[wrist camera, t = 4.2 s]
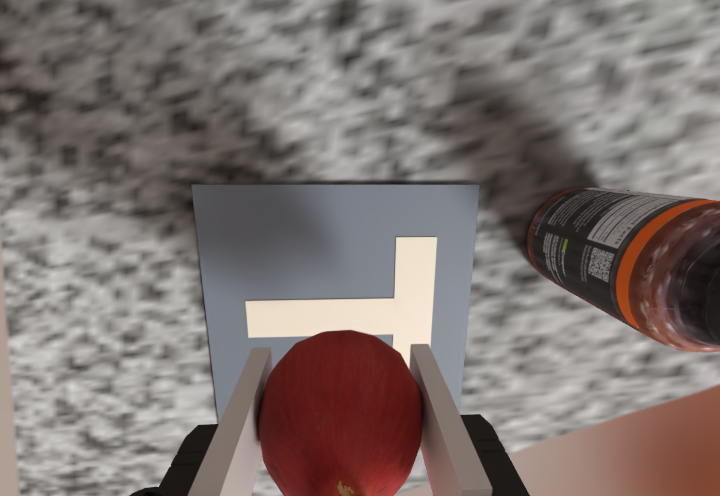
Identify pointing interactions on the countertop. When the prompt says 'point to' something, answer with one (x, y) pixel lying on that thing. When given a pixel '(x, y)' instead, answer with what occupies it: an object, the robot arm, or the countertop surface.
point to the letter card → (335, 269)
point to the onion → (340, 417)
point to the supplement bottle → (636, 260)
